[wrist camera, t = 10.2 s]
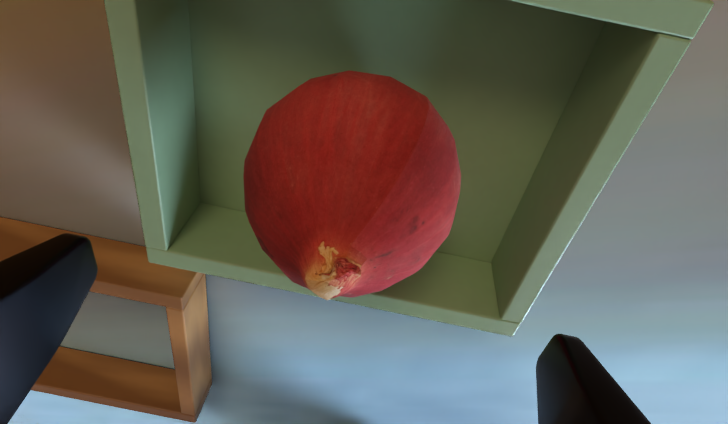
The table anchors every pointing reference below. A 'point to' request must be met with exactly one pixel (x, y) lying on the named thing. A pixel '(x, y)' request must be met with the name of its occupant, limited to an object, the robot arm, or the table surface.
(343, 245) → the onion
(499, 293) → the green bin
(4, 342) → the robot arm
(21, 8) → the table surface
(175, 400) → the oak frame
